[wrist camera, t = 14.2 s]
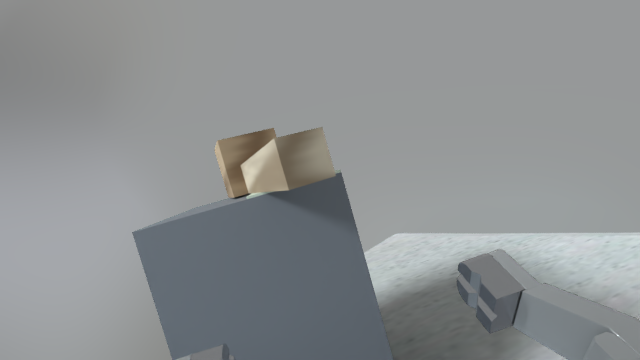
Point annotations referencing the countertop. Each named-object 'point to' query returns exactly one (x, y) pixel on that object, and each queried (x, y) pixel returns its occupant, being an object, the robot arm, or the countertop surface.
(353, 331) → the stand
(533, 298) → the robot arm
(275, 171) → the mallet
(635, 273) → the countertop surface
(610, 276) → the countertop surface
